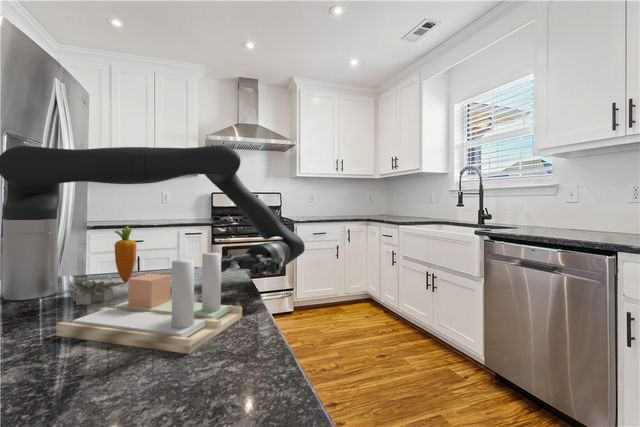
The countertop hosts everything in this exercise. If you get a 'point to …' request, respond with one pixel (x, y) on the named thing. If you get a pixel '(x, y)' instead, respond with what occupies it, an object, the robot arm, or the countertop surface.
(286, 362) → the countertop surface
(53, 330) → the countertop surface
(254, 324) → the countertop surface
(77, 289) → the egg carton
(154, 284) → the cube
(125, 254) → the carrot
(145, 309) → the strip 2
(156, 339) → the board
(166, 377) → the countertop surface
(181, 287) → the strip
